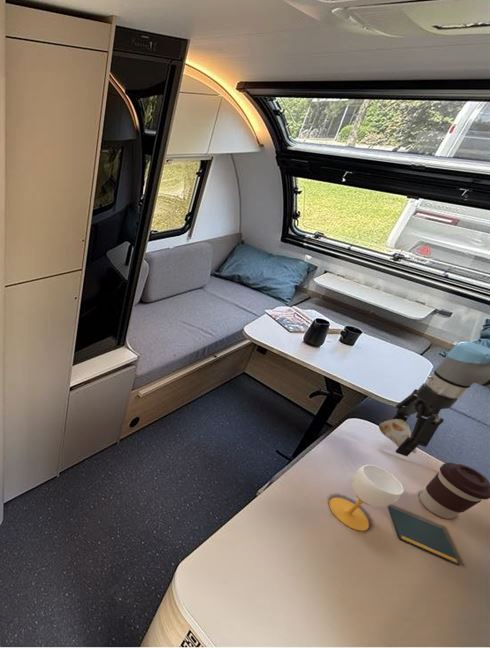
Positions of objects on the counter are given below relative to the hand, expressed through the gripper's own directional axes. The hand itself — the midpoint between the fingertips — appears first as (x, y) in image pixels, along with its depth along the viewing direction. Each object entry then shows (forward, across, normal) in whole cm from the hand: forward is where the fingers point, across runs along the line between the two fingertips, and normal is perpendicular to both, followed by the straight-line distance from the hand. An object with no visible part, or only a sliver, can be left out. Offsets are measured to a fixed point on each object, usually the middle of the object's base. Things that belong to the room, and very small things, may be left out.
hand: (395, 441), depth 114 cm
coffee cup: (+7, +15, +9) cm, 19 cm away
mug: (0, 0, 0) cm, 0 cm away
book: (+7, +28, +2) cm, 29 cm away
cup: (+7, +32, -15) cm, 36 cm away
